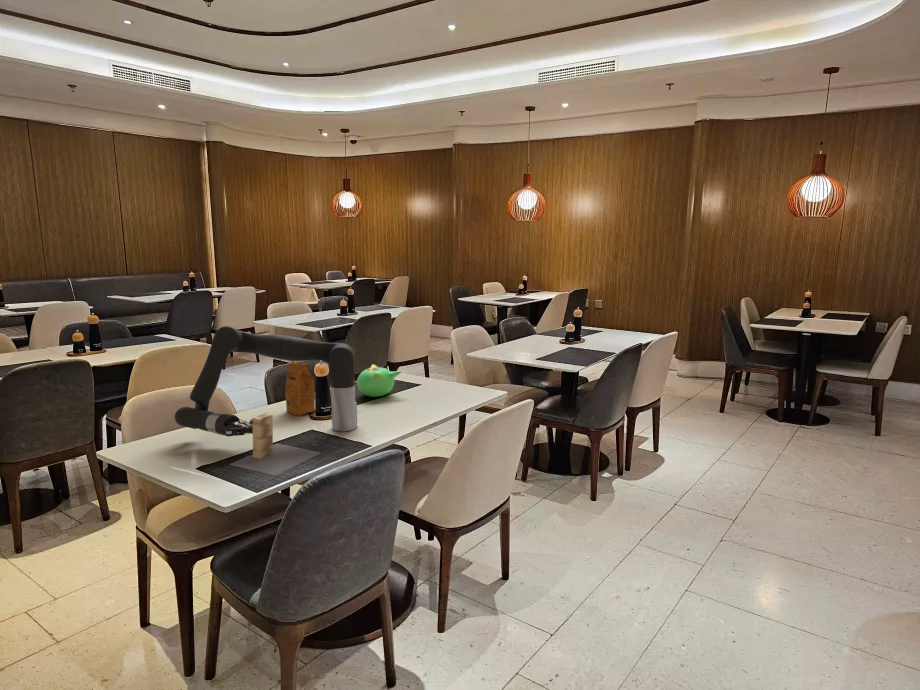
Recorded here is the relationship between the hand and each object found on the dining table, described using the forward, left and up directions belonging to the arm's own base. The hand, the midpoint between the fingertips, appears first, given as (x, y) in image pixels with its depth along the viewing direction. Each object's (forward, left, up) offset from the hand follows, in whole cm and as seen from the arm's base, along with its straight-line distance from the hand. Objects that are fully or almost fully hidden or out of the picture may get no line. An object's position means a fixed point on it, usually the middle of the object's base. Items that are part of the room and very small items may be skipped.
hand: (259, 431), depth 195 cm
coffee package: (-46, -23, -9) cm, 52 cm away
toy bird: (-82, -8, -9) cm, 83 cm away
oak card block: (0, +1, -8) cm, 8 cm away
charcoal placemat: (0, +7, -9) cm, 11 cm away
